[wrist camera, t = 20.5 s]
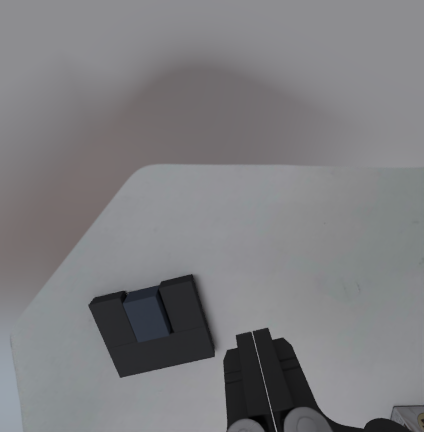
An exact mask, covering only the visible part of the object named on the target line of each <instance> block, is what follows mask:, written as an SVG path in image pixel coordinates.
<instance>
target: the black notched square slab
mask: <svg viewBox="0 0 424 432" xmlns="http://www.w3.org/2000/svg"><path fill="white" fill-rule="evenodd" d="M159 291H160V294H161V297H162V299H163V302H164V305H165V308H166V311H167V314H168V317H169V319H170V322H171V325H172V326H171V331H170V335H169V336H166V337H161V338H157V339H153V340H148V341H144V342H139V343H138V341H137V339H136V336H135V334H134V331H133V329H132V326H131V324H130V321H129V319H128V316H127V314H126V311H125V309H124V306H123V302H124V301H125V299H126V294H125V292H124V291H121V292H117V293H112V294H108V295H104V296H100V297H96V298H94V299H93V300H92V301H91V303H90V304H89V308H90V310H91V312H92V315H93V317H94V319H95V322H96V324H97V326H98V328H99V331H100V333H101V335H102V337H103V340H104V342H105V344H106V347H107V349H108V351H109V353H110V356H111V358H112V360H113V363H114V365H115V367H116V369H117V372H118V374H119V376H120V378H121V377H126V376H130V375H135V374H139V373H144V372H148V371H153V370H157V369H162V368H166V367H171V366H175V365H180V364H184V363H189V362H193V361H198V360H202V359H207V358H211V357H215V350H214V344H213V341H212V338H211V335H210V331H209V328H208V325H207V321H206V318H205V315H204V312H203V309H202V305H201V302H200V299H199V296H198V292H197V289H196V286H195V283H194V279H193V276H192V274H191V275H187V276H183V277H179V278H175V279H171V280H166V281H162V282H161V284H160V286H159Z"/></svg>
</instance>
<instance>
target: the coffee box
mask: <svg viewBox="0 0 424 432" xmlns="http://www.w3.org/2000/svg"><path fill="white" fill-rule="evenodd" d="M391 420H392V421H395V422H397V423H399V424H401V425H403V426H404V427H406V428H408V429H409V430H411V431H413V432H424V406H409V407H394V409H393V413H392V417H391Z"/></svg>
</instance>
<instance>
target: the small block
mask: <svg viewBox="0 0 424 432" xmlns="http://www.w3.org/2000/svg"><path fill="white" fill-rule="evenodd" d="M159 286H160V285H159ZM159 286H154V287H150V288H146V289H142V290H138V291H134V292H129V294H128V295H127V297H126V299H125V301H124V302H123V306H124V309H125V311H126V314H127V316H128V319H129V321H130V324H131V326H132V329H133V331H134V334H135V336H136V339H137V341H138V343H139V342H144V341H148V340H153V339H157V338H161V337H166V336H169V335H170V331H171V326H172V325H171V322H170V319H169V317H168V314H167V311H166V308H165V305H164V302H163V299H162V297H161V294H160V291H159Z"/></svg>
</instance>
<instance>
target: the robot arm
mask: <svg viewBox="0 0 424 432" xmlns="http://www.w3.org/2000/svg"><path fill="white" fill-rule="evenodd" d="M253 335H254V339H255V343H256V347H257V351H258V355H259V360H260V364H261V368H262V372H263V376H264V380H265V384H266V388H267V392H268V396H269V401H270V405H271V409H272V413H273V417H274V421H275V425H276V428H277V432H413V431H411V430H409V429H408V428H406V427H404V426H403V425H401V424H399V423H397V422H395V421H392V420H389V419H384V418H377V419H373V420H371V421H369V422H368V423H367V424H366V426H365V427H364V429H362V428H356V427H349V426H344V425H341V424H338V423H336V422H334V421H332V420H331V419H329V418H328V417H327V416H325V415H324V414H323V412H322V411H321V410H320V409H319V407H318V405H317V403H316V401H315V399H314V396H313V394H312V392H311V389H310V387H309V385H308V382H307V380H306V378H305V375H304V373H303V371H302V368H301V367H300V364H299V361H298V359H297V357H296V354H295V352H294V350H293V347H292V345H291V344H289V343H288V342H287V341H286V340H285V339H284V338H279V339H275V340H272V338H271V335H270V332H269V329H268V328H264V329H260V330H256V331H253ZM236 340H237V347H238V348H235V349H230V350H227V352H226V355H225V358H224V360H223V364H224V379H225V393H226V408H227V431H226V432H276V430H275V426H274V422H273V418H272V414H271V409H270V405H269V401H268V397H267V393H266V389H265V384H264V380H263V376H262V372H261V368H260V364H259V360H258V356H257V352H256V348H255V344H254V340H253V336H252V333H251V332H247V333H243V334H238V335H236Z"/></svg>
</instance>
